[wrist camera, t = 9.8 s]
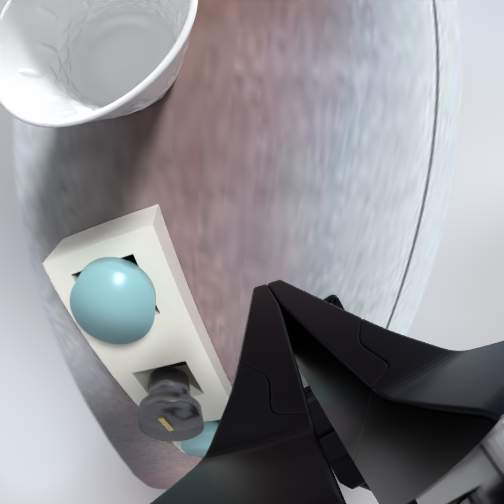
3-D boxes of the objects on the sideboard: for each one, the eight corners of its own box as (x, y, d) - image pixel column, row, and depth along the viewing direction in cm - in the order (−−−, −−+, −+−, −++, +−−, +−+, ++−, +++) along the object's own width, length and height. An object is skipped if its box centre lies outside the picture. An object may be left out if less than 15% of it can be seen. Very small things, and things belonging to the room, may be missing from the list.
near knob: (169, 291, 20) (168, 333, 16) (107, 309, 20) (96, 350, 16) (143, 227, 18) (132, 258, 14) (77, 250, 18) (54, 284, 13)
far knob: (231, 416, 29) (240, 450, 25) (188, 426, 28) (192, 460, 24) (218, 392, 26) (226, 430, 22) (170, 403, 26) (172, 441, 22)
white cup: (189, 6, 13) (201, -79, 4) (192, 114, 17) (200, 105, 8) (74, 27, 12) (3, -26, 3) (75, 133, 15) (-12, 153, 6)
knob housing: (243, 410, 30) (250, 438, 27) (180, 425, 30) (183, 452, 26) (158, 203, 19) (152, 224, 15) (63, 238, 18) (42, 263, 14)
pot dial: (205, 389, 22) (213, 438, 18) (155, 400, 22) (157, 448, 18) (185, 354, 20) (190, 408, 16) (130, 367, 20) (126, 419, 15)
